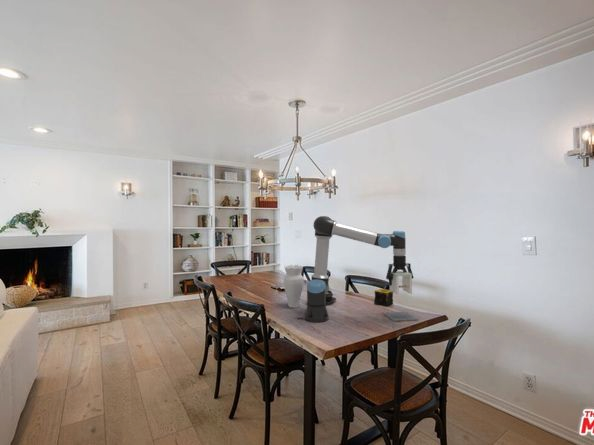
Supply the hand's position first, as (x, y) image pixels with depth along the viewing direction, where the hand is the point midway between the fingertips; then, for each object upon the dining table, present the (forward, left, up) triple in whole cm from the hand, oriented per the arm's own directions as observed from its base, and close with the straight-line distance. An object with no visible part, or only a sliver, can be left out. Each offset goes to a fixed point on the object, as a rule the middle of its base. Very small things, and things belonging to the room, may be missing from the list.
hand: (399, 290), depth 190 cm
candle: (+2, +29, -17) cm, 34 cm away
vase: (-64, +34, -17) cm, 75 cm away
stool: (0, -6, +5) cm, 8 cm away
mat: (0, 0, -17) cm, 17 cm away
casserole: (-42, +40, -17) cm, 61 cm away
